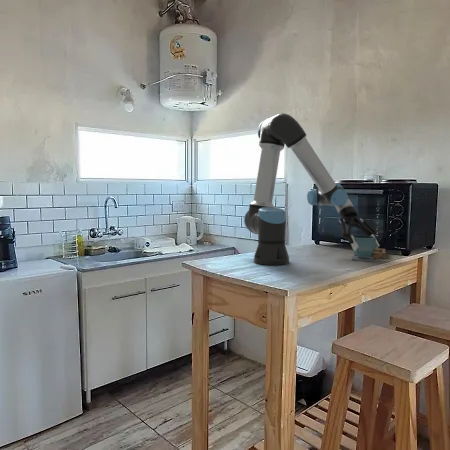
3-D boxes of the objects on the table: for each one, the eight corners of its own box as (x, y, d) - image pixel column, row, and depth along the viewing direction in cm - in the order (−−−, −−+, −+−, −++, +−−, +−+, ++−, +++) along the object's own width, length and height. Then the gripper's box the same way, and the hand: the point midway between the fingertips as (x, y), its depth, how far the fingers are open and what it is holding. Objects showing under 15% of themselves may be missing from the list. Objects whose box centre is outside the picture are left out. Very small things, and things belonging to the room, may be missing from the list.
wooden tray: (354, 256, 189) (354, 251, 188) (355, 252, 201) (355, 247, 201) (385, 258, 184) (385, 253, 184) (384, 253, 197) (385, 248, 196)
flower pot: (375, 258, 178) (376, 237, 177) (355, 258, 178) (356, 237, 177) (369, 254, 187) (369, 235, 186) (349, 254, 187) (350, 235, 186)
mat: (351, 260, 180) (351, 259, 180) (352, 256, 189) (352, 255, 189) (373, 261, 177) (373, 260, 177) (373, 258, 186) (373, 256, 186)
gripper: (362, 215, 199) (383, 251, 186) (322, 216, 192) (341, 254, 178) (370, 204, 194) (392, 241, 181) (329, 205, 186) (349, 244, 173)
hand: (367, 248), depth 180 cm, fingers closed on flower pot, 10 cm apart
